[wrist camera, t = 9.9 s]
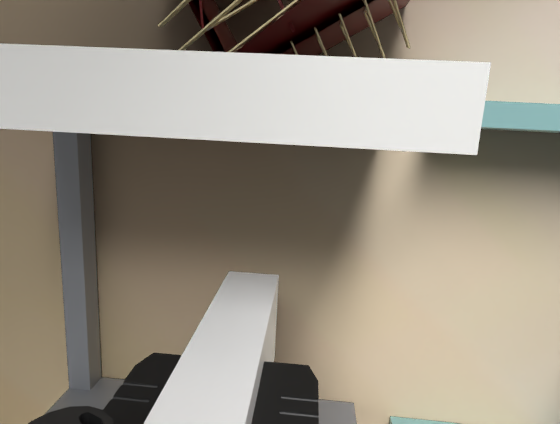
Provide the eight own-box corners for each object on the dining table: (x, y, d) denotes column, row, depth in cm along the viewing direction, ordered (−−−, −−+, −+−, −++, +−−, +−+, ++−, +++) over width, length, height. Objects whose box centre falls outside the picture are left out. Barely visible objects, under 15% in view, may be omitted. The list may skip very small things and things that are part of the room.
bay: (65, 87, 17) (-273, 32, 7) (384, 102, 16) (490, 62, 6) (82, 397, 20) (-139, 651, 10) (351, 425, 19) (389, 737, 9)
